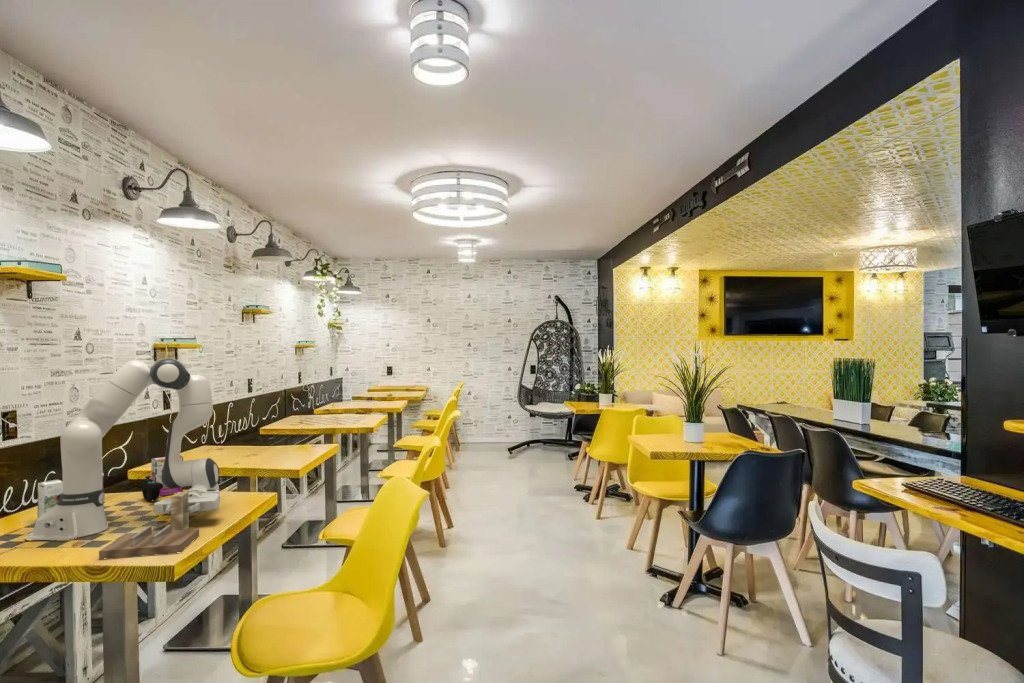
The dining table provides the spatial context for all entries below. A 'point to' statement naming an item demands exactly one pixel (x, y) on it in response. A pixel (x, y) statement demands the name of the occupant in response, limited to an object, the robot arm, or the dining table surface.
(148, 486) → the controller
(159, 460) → the candy bar box
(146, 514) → the dining table surface
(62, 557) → the dining table surface
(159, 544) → the notch board
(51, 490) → the syrup box
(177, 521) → the tan wooden block
